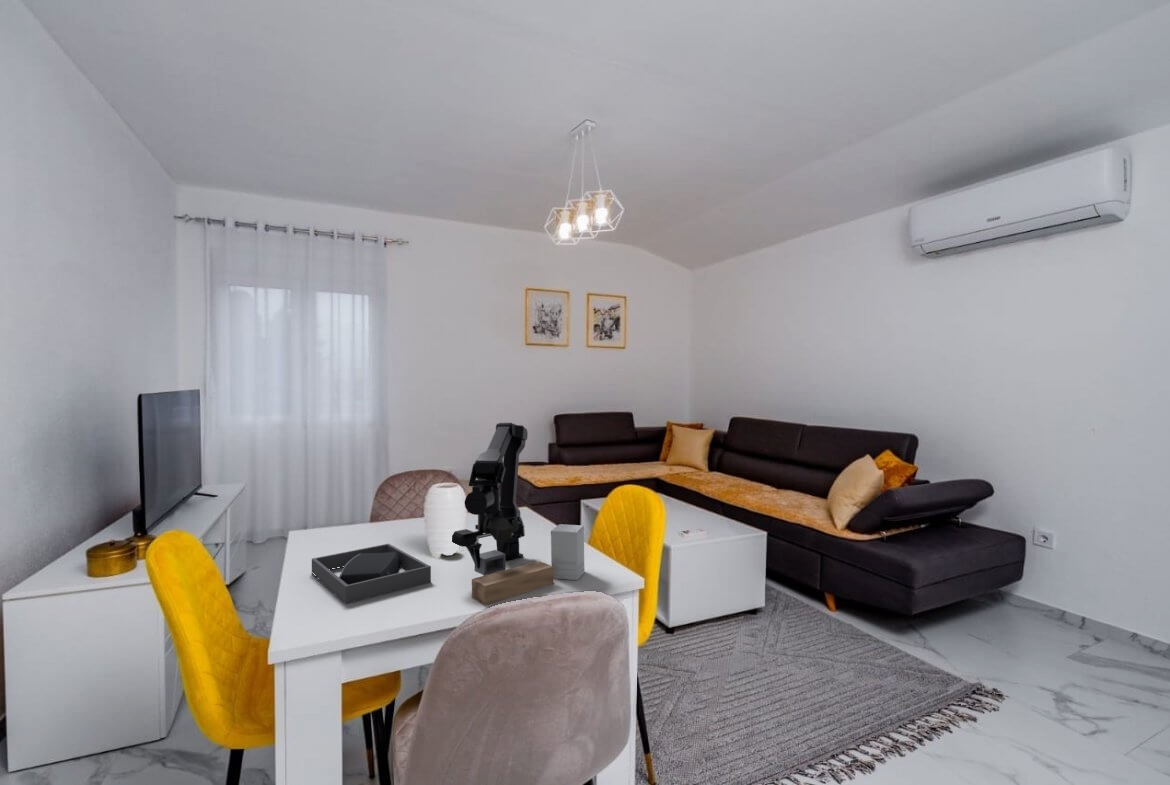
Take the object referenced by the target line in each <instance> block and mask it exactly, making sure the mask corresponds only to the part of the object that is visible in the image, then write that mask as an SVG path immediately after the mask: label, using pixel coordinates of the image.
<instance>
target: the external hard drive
mask: <svg viewBox="0 0 1170 785" xmlns="http://www.w3.org/2000/svg"><path fill="white" fill-rule="evenodd" d="M399 565H400V562H399V558H398V556H397V554H396V552H390V553H367V554H358V555H357V556H355V557H354V558H352V559H351V560H350V561H349V562H348V563H347V564H346V565H345V566H344V568H341V569H342V570H341V572H340V574H339V575H338V577H339V578H340V579H341V580H343V581H344V582H345V583H346V584H348V585H349V584H354V583H358V582H362V581H366V580H371V579H375V578H379V577H383V576H388V575H392V574H396V573H398V572H397V571H398V570H399V567H400V566H399Z"/></svg>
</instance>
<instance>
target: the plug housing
mask: <svg viewBox="0 0 1170 785" xmlns="http://www.w3.org/2000/svg"><path fill="white" fill-rule="evenodd" d="M506 565H507V564H506V557H505V554H504V553H502V552H500V551H497V549H494V550H489V551H485V552H480V568H479V569H478V568H476V566H475V565H474V572H476V573H478V574H480V575H482V576H485V575H489V574H492V573H496V572H500V571H503V570H507V569H506Z"/></svg>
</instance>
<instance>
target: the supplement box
mask: <svg viewBox="0 0 1170 785" xmlns="http://www.w3.org/2000/svg"><path fill="white" fill-rule="evenodd" d="M584 531H585V528H584V525H582V524H581V525H579V524H578V525H577V524H562V523H559V524H558V525H556V526H555V527H554V528H553V529H551V530H550V546H551V547H550V548H551V549H550V552H551V554H550V555H551V556H550V558H551V561H550V562H551V564H550V565H551V566H553V579H559V580H561V579H562V580H573V581H578V580H579V579H580V578H581V577H582V576H583V574H584V572H585V570H586V569H585V532H584Z"/></svg>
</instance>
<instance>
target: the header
mask: <svg viewBox="0 0 1170 785" xmlns="http://www.w3.org/2000/svg"><path fill="white" fill-rule="evenodd" d="M551 585H554V578H553V566H552V564H548V563H546V562H543V561H540V560H537V561H534V562H531V563H527V564H523V565H519V566H515V567H512V568H507V569H506V570H503V571H500V572H496V573H492V574H489V575H485V576H484V575H482V576H478V577H475V578H471V598H472V599H474V600H475V601H476V602H479V603H481V604H482V605H484V606H486V605H489V604H492V603H493V604H494V603H496V602H498V601H502V600H506V599H509V598H512V597H515V596H518V595H522V594H524V593H527V592H531V591H534V590H539V589H541V588H544V587H547V586H551Z"/></svg>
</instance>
